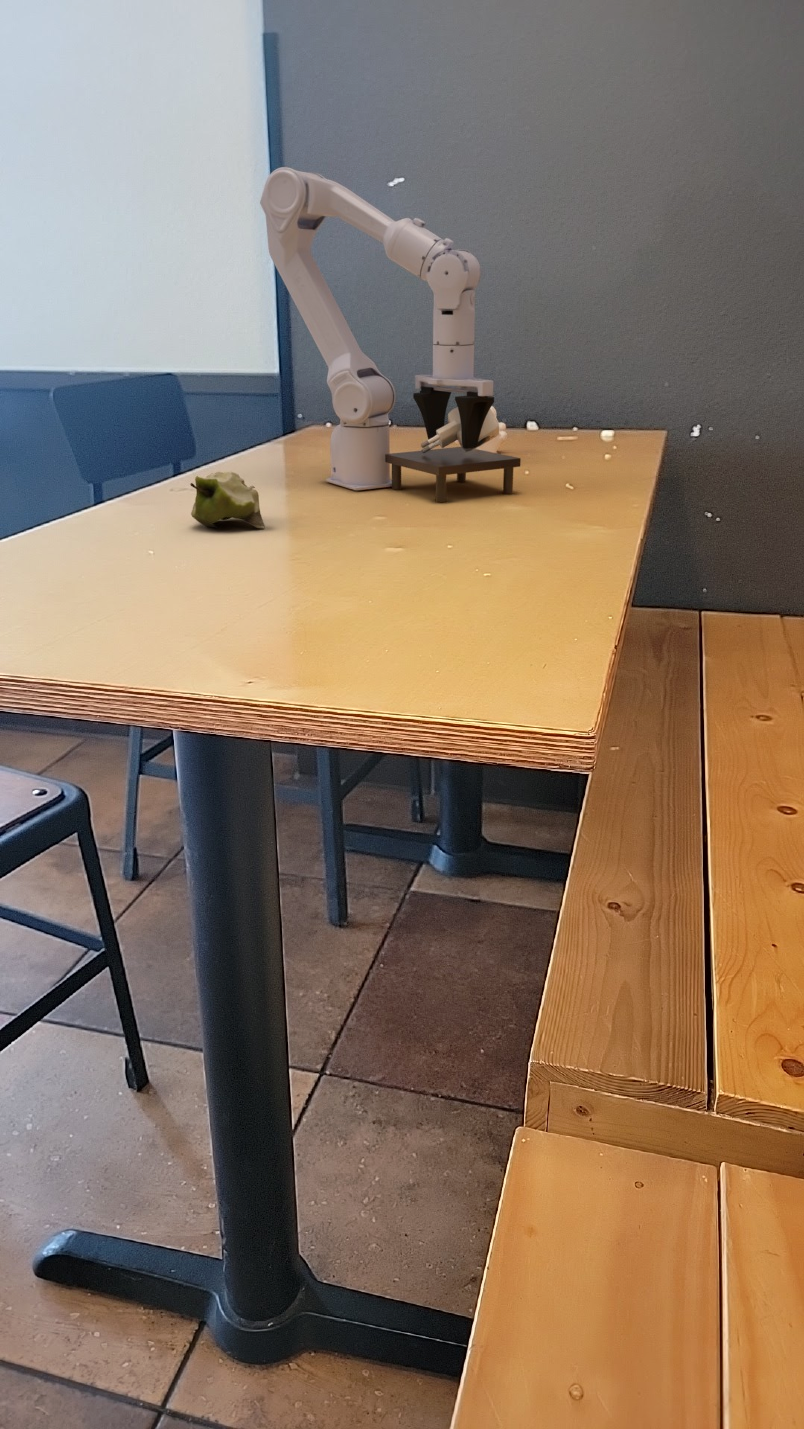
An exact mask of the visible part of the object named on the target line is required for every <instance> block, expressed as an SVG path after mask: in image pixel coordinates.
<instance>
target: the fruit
mask: <svg viewBox="0 0 804 1429" xmlns="http://www.w3.org/2000/svg"><path fill="white" fill-rule="evenodd" d="M194 482H195V484H194ZM194 482H191V483H190V486H191V487H192V488H194V489H195V491H196V494H195V500H194V503H193V505H192V510H191V513H190V516H191V517H192V518H193V519H194V520H195V521H197V522H198V523H200V524H201V525H203V526H205V527H207V528H214V529H215V528H216V529H219V528H220V527H219V526H217V525H215V524H214V523H217V522H219V521H227V520H230V519H237V520H240V521H241V520H242V521H244V522H245V523H247V524H249V525H251V526H253V527H254V528H257V529H263V530H264V529H265V528H266V525H265V522H264V520H263V517H262V514H261V508H260V494H259V492H258V490H256V487H255V486H254V485H250V486H247V485H246V484H245V479H244V478H242V477H240V475H239V474H238V473H236V472H233V471H227V472H221V471H216V472H215V473H213V472H212V473H210V474H208V475H207V476H206V477H205V478H204V477H200V476H199V475H197V476H195V479H194Z"/></svg>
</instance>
